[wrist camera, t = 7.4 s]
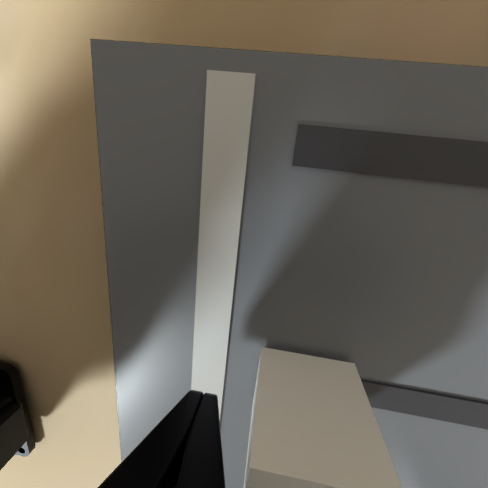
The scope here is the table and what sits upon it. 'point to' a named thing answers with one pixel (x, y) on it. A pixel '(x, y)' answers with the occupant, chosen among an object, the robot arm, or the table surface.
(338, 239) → the breaker panel
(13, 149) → the table surface
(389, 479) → the handle middle
